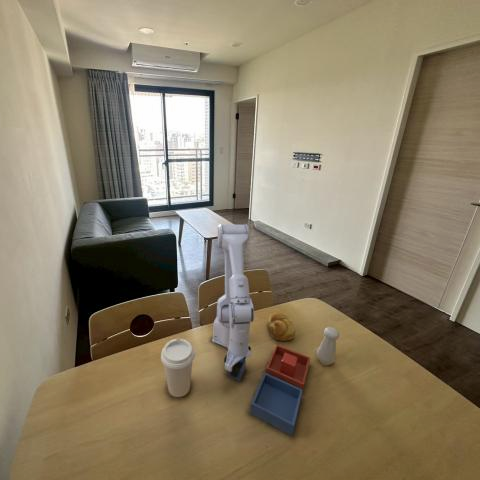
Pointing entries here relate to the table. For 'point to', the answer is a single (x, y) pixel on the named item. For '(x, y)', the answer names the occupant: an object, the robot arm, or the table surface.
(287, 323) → the bread roll
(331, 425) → the table surface
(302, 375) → the red bin
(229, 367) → the robot arm
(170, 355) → the coffee cup
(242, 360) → the blue block
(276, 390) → the blue bin
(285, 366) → the red block
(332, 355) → the salt shaker
